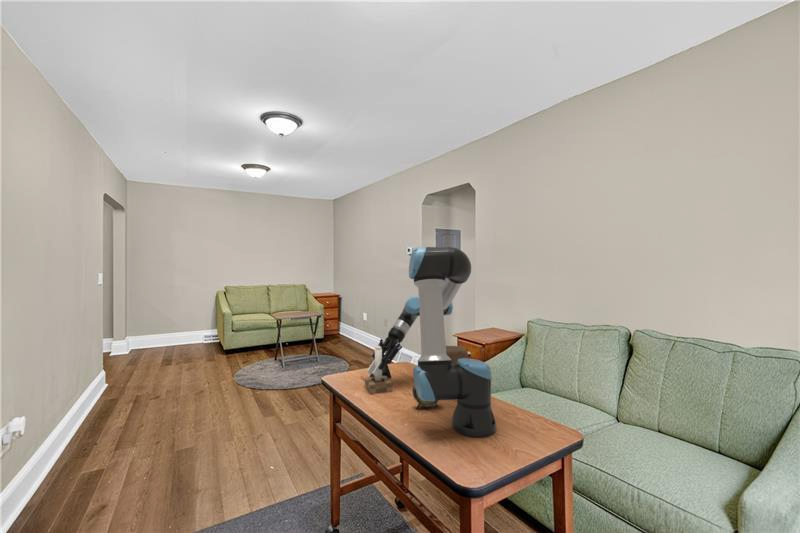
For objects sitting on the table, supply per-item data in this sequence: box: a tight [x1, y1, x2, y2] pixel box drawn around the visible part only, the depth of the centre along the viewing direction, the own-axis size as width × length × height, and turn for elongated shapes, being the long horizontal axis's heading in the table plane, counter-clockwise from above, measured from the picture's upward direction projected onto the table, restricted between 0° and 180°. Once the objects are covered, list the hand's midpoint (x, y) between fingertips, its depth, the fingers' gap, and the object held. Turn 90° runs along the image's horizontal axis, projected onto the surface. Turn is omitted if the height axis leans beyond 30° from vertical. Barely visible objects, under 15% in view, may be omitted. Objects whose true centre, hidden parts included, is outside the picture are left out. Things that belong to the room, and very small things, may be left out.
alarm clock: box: [412, 382, 439, 410], centre depth 143 cm, size 11×5×16 cm, turn 102°
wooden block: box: [446, 345, 469, 364], centre depth 157 cm, size 10×10×20 cm
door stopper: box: [369, 354, 392, 379], centre depth 178 cm, size 9×6×12 cm, turn 124°
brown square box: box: [364, 375, 393, 395], centre depth 163 cm, size 10×10×4 cm
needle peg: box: [374, 345, 382, 382], centre depth 163 cm, size 3×3×18 cm
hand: (371, 373), depth 160 cm, fingers closed on needle peg, 3 cm apart
